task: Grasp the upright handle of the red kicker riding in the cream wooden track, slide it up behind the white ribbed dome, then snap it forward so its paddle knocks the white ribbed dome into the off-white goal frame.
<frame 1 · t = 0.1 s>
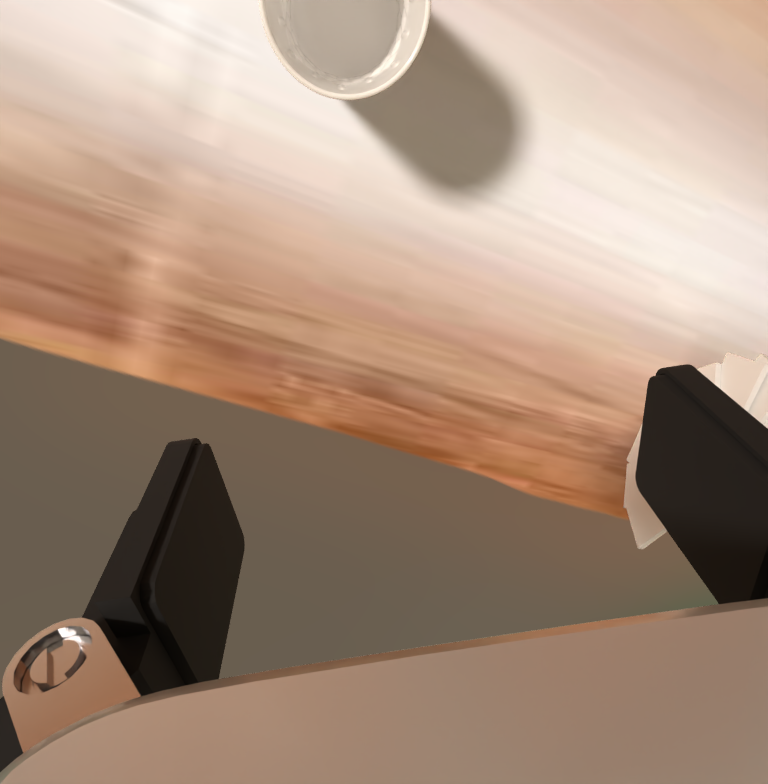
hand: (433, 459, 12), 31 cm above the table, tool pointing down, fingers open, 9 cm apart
spiral staircase: (737, 423, 52), on the table
white cup: (344, 19, 33), on the table
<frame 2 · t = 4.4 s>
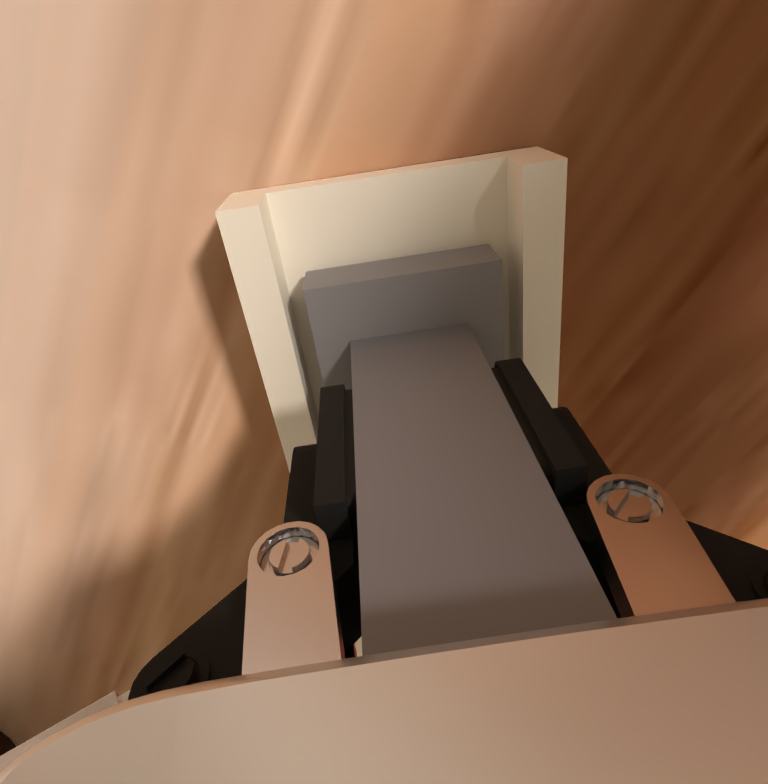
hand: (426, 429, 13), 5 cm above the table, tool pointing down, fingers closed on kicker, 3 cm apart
track: (416, 434, 18), on the table
kicker: (446, 566, 13), point 6 cm above the table, slide at 0.0 cm, touching gripper
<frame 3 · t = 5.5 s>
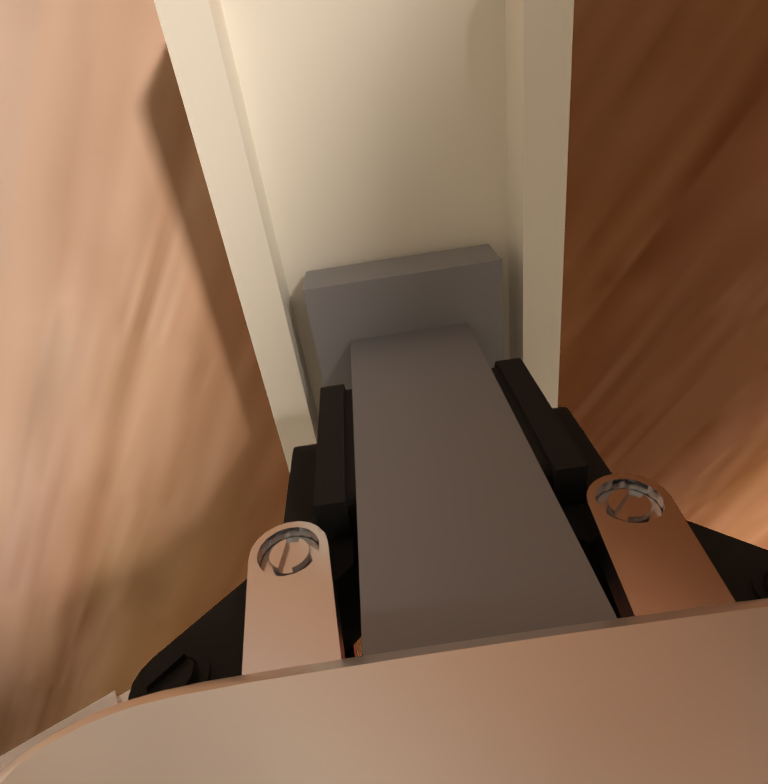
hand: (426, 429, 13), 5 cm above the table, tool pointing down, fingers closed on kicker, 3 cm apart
track: (403, 328, 16), on the table
kicker: (446, 566, 13), point 6 cm above the table, slide at 4.0 cm, touching gripper
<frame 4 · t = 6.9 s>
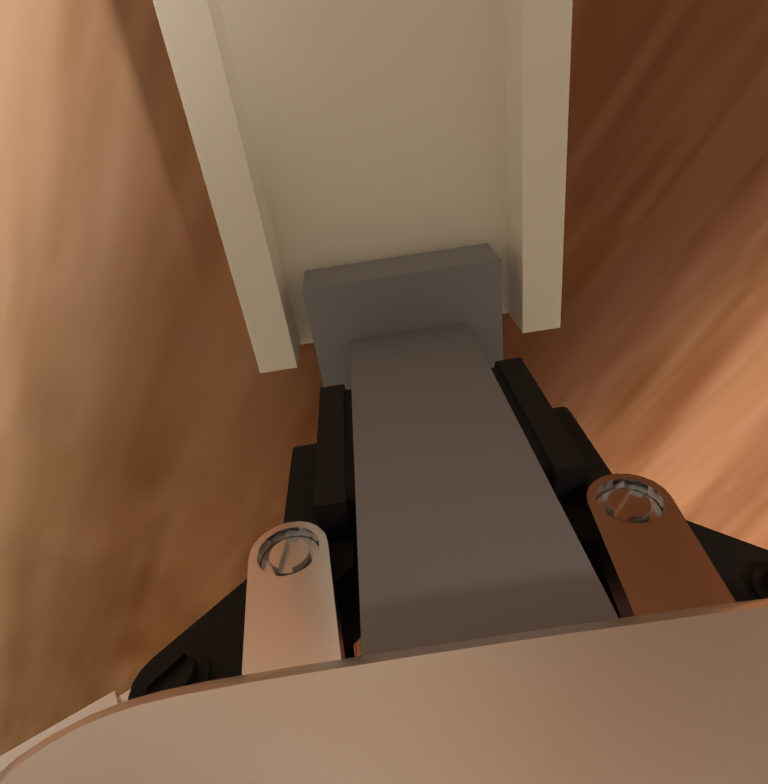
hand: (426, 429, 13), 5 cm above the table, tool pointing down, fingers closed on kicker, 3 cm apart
kicker: (446, 566, 13), point 6 cm above the table, slide at 12.8 cm, touching gripper, white ribbed dome
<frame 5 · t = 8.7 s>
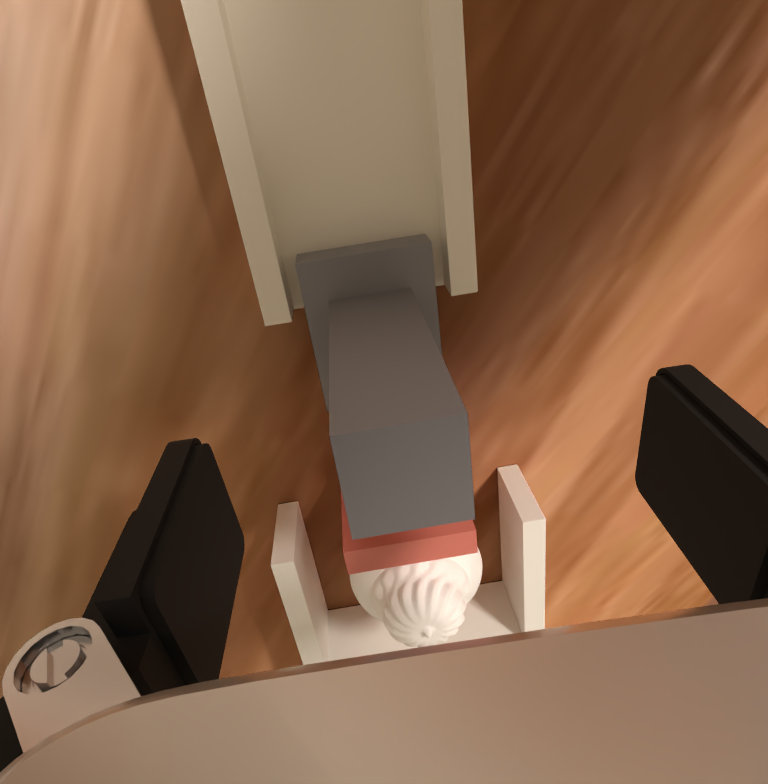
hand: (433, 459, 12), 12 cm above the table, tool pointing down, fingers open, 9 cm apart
white ribbed dome: (406, 518, 28), on the table
track: (329, 45, 18), on the table
goal: (408, 550, 29), on the table
kicker: (396, 451, 18), point 6 cm above the table, slide at 12.8 cm
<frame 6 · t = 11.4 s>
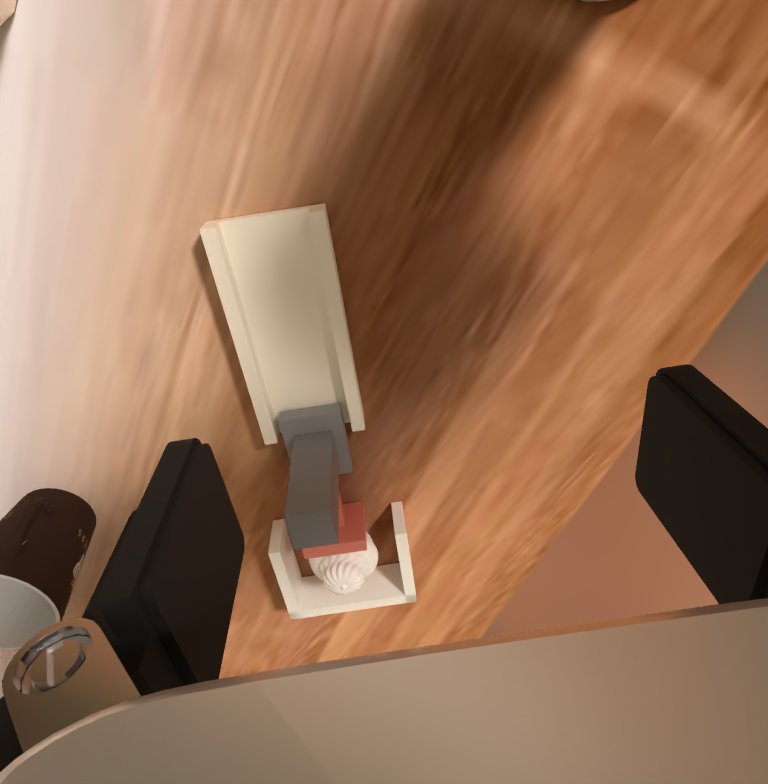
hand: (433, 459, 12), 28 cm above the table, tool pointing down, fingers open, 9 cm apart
white ribbed dome: (343, 527, 51), on the table
track: (293, 328, 40), on the table
goal: (345, 545, 52), on the table
kicker: (322, 507, 41), point 6 cm above the table, slide at 12.8 cm
coffee mug: (69, 505, 48), on the table
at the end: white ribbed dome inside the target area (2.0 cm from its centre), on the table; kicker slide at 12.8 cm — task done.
